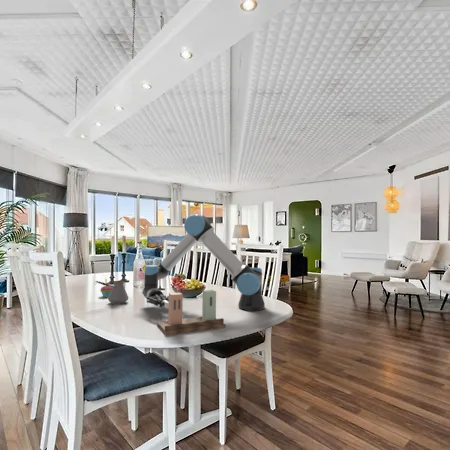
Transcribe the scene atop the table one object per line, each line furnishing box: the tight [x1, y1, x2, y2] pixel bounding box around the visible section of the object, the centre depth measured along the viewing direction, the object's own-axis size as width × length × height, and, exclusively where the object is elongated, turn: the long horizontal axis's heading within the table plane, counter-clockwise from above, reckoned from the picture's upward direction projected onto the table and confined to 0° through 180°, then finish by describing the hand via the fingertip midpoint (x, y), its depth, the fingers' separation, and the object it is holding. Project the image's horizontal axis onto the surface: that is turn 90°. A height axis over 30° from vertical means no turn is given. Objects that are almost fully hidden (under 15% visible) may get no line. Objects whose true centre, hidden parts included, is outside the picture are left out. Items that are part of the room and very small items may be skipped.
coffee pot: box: [94, 280, 129, 305], centre depth 177 cm, size 21×12×15 cm, turn 145°
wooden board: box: [156, 317, 226, 337], centre depth 136 cm, size 27×15×4 cm, turn 116°
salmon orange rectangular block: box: [168, 292, 184, 325], centre depth 131 cm, size 5×4×14 cm
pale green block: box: [201, 289, 217, 321], centre depth 138 cm, size 5×4×14 cm
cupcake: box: [100, 278, 113, 298], centre depth 199 cm, size 9×8×12 cm
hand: (167, 305), depth 141 cm, fingers closed
